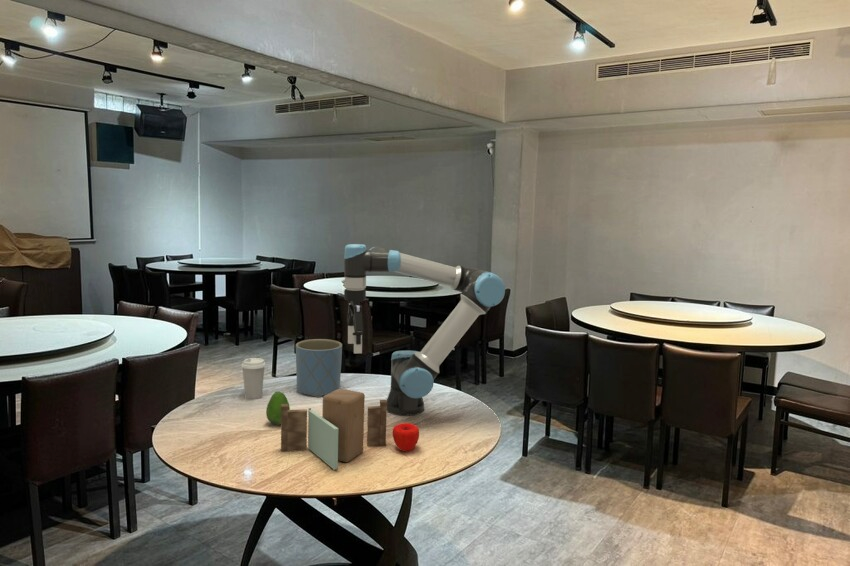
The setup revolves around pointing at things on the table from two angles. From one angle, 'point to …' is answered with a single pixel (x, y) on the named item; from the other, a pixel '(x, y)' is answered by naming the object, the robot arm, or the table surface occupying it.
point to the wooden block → (346, 420)
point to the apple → (406, 436)
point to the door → (323, 439)
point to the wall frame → (297, 427)
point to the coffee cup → (253, 377)
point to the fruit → (276, 407)
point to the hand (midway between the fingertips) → (354, 348)
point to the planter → (318, 366)
